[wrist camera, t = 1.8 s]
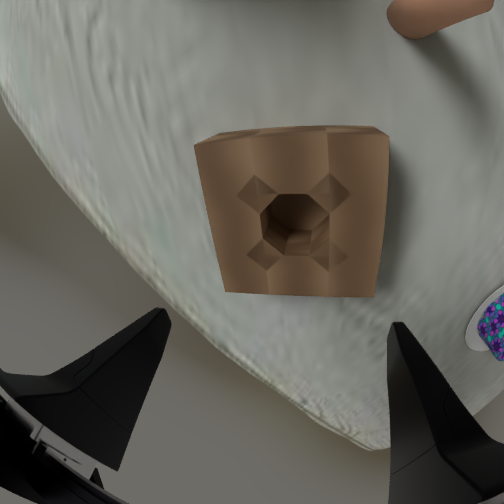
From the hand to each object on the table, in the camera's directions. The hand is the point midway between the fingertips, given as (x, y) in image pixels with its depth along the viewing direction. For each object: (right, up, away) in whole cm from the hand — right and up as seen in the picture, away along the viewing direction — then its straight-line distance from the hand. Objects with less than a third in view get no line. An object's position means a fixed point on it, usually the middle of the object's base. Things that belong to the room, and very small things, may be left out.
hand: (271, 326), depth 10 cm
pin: (+10, +18, +1) cm, 21 cm away
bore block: (+3, +7, +10) cm, 12 cm away
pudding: (+29, -4, +11) cm, 31 cm away
